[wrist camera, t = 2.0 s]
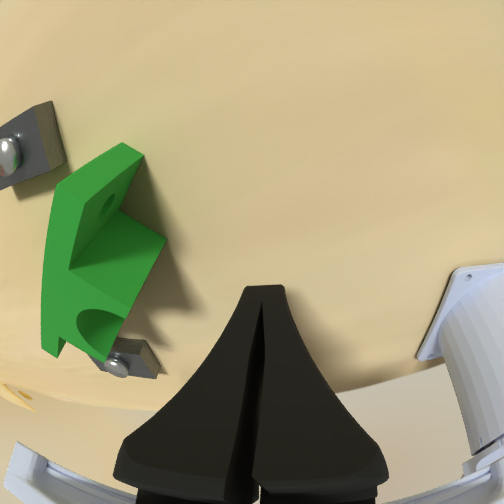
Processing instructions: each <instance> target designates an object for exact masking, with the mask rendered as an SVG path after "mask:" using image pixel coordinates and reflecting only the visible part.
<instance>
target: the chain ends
mask: <svg viewBox="0 0 504 504" xmlns="http://www.w3.org/2000/svg"><path fill="white" fill-rule="evenodd" d="M64 162H66V157H65V154H64V150H63V147H62V143H61V139H60V136H59V132H58V128H57V123H56V119H55V115H54V110H53V105H52V101H48V102H45V103H42V104H39V105H36V106H33V107H32V108H30V109H28V110H26V111H25V112H23V113H21V114H20V115H18V116H17V117H15V118H13V119H12V120H10V121H9V122H7V123H6V124H4V125H3V126H1V127H0V190H2V189H5V188H7V187H9V186H12V185H14V184H17V183H19V182H22V181H24V180H27V179H29V178H32V177H35V176H37V175H40V174H43V173H46V172H49V171H51V170H53V169H54V168H56V167H58V166H59V165H61V164H62V163H64ZM88 356H89V357H90V358H91V359H92V361H93V362H94V363H95V364H96V365H97V367H98V368H99V369H100V370H101V371H105V372H109V373H111V374H113V375H115V376H117V377H121V378H125V377H127V375H129V376H136V377H143V378H151V379H156V378H157V375H158V372H159V369H160V364H159V363H158V361H157V359H156V358H155V356H154V354H153V353H152V351H151V350H150V348H149V346H148V345H147V343H146V341H145V340H134V339H123V338H115V341H114V343H113V345H112V347H111V349H110V352H109V354H108V356H107V359H106V361H105V363H103V362H101V361H99V360H98V359H96V358H94V357H92V356H90V355H89V354H88Z"/></svg>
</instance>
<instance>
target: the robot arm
mask: <svg viewBox="0 0 504 504" xmlns="http://www.w3.org/2000/svg"><path fill="white" fill-rule="evenodd" d="M439 357H443V358H444V360H445V363H446V366H447V369H448V372H449V375H450V377H451V380H452V383H453V387H454V390H455V392H456V396H457V399H458V402H459V406H460V410H461V413H462V417H463V421H464V424H465V428H466V432H467V437H468V441H469V445H470V450H471V455H472V456H474V455H476V456H474V457H473V458H472V459H470V460H468V461H466V462H464V463H463V464H462V465H463V471H464V474H463V475H462V477H461V478H460V479H458V480H456V481H453V482H451V483H448V484H446V485H443V486H440V487H438V488H435V489H432V490H429V491H426V492H423V493H420V494H417V495H413V496H410V497H407V498H403V499H399V500H396V501H392V502H387V503H384V504H504V263H496V264H487V265H478V266H469V267H461V268H458V269H456V270H455V271H454V272H453V274H452V276H451V279H450V282H449V284H448V287H447V289H446V292H445V295H444V297H443V300H442V302H441V304H440V307H439V309H438V312H437V314H436V316H435V318H434V321H433V323H432V325H431V327H430V329H429V331H428V334H427V336H426V338H425V340H424V342H423V344H422V346H421V348H420V350H419V352H418V354H417V359H418V361H425V360H430V359H435V358H439ZM113 477H114V478H115V479H116V480H119V481H121V482H123V483H126V484H128V485H131V486H133V487H136V488H138V493H137V496H136V495H133V494H130V493H127V492H124V491H121V490H118V489H115V488H112V487H109V486H106V485H104V484H101V483H98V482H96V481H93V480H91V479H88V478H86V477H84V476H81V475H79V474H76V473H74V472H72V471H70V470H68V469H66V468H64V467H62V466H60V465H58V464H56V463H54V462H52V461H50V460H48V459H47V458H45V457H44V456H42V455H40V454H38V453H37V452H35V451H33V450H31V449H30V448H28V447H26V446H24V445H23V444H22V443H20V442H16V445H15V447H14V450H13V453H12V456H11V459H10V463H9V466H8V469H7V473H6V476H5V480H4V484H3V485H4V487H5V488H6V489H8V490H9V491H10V492H11V493H13V494H14V495H15V496H16V497H18V498H19V499H20V500H21V501H22V502H24V503H25V504H253V503H254V502H255V501H257V500H258V499H259V485H260V486H261V494H260V504H375V497H377V486H378V485H380V484H382V483H384V482H385V481H387V480H388V478H389V472H388V468H387V465H386V461H385V459H384V456H383V454H382V452H381V449H380V448H379V446H378V444H377V443H376V442H375V441H374V440H373V439H372V438H371V437H370V436H369V435H368V434H367V433H366V432H365V430H364V429H363V428H362V427H361V426H360V425H359V424H358V423H357V422H356V420H355V419H354V418H353V417H352V416H351V414H350V413H349V412H348V411H347V410H346V408H345V407H344V405H343V404H342V403H341V402H340V400H339V399H338V398H337V396H336V395H335V393H334V392H333V391H332V389H331V388H330V387H329V385H328V384H327V382H326V380H325V379H324V377H323V376H322V374H321V373H320V371H319V369H318V368H317V366H316V365H315V363H314V361H313V359H312V358H311V356H310V354H309V352H308V350H307V348H306V346H305V344H304V342H303V340H302V338H301V336H300V334H299V332H298V329H297V327H296V325H295V322H294V320H293V317H292V315H291V312H290V309H289V306H288V303H287V299H286V295H285V288H284V286H283V285H261V286H246V287H245V288H244V290H243V293H242V295H241V298H240V300H239V302H238V304H237V307H236V309H235V311H234V313H233V315H232V317H231V318H230V320H229V322H228V324H227V326H226V327H225V329H224V331H223V333H222V334H221V336H220V338H219V339H218V341H217V342H216V344H215V345H214V347H213V349H212V350H211V352H210V353H209V355H208V356H207V357H206V359H205V360H204V362H203V363H202V364H201V366H200V367H199V368H198V369H197V371H196V372H195V373H194V375H193V376H192V377H191V378H190V379H189V380H188V382H187V383H186V384H185V385H184V386H183V387H182V388H181V390H180V391H179V392H178V393H177V394H176V395H175V396H174V397H173V398H172V399H171V400H170V401H169V402H168V403H167V404H166V405H165V406H163V407H162V408H161V409H160V410H159V411H158V412H157V413H156V414H155V415H154V416H153V417H152V418H150V419H149V420H148V421H147V422H145V423H144V424H143V425H142V426H140V427H139V428H138V429H136V430H135V431H134V432H133V433H131V434H130V435H129V436H127V437H126V438H125V439H124V440H123V443H122V445H121V448H120V450H119V453H118V456H117V460H116V464H115V468H114V472H113Z"/></svg>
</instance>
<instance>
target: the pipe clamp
mask: <svg viewBox="0 0 504 504" xmlns="http://www.w3.org/2000/svg"><path fill="white" fill-rule="evenodd" d="M143 156H144V155H143V154H141V153H140V152H138V151H136V150H135V149H133V148H131V147H129V146H128V145H126V144H124V143H123V142H122V143H120V144H118V145H117V146H115V147H113V148H111V149H110V150H108V151H106V152H105V153H103V154H101V155H100V156H98V157H97V158H95V159H93V160H92V161H90V162H89V163H87V164H86V165H84V166H83V167H81V168H80V169H78V170H77V171H75V172H74V173H72V174H71V175H69V176H68V177H66V178H65V179H63V180H62V181H61V182H59V183H58V184H56V188H55V193H54V198H53V203H52V208H51V213H50V219H49V225H48V231H47V238H46V245H45V254H44V263H43V275H42V292H41V346H42V349H44V350H45V351H47V352H48V353H50V354H51V355H53V356H54V357H56V358H58V356H59V354H60V352H61V350H62V349H63V347H64V345H65V343H66V341H67V342H69V343H70V344H72V345H74V346H75V347H77V348H78V349H80V350H82V351H84V352H85V353H87V354H89V355H90V356H92V357H94V358H96V359H98V360H99V361H101V362H103V363H105V361H106V359H107V356H108V354H109V352H110V349H111V347H112V345H113V343H114V341H115V338H116V336H117V334H118V332H119V330H120V328H121V325H122V323H123V321H124V319H126V317H127V315H128V313H129V312H130V310H131V308H132V306H133V303H134V301H135V299H136V297H137V295H138V293H139V291H140V289H141V287H142V285H143V284H144V282H145V280H146V278H147V276H148V274H149V272H150V270H151V268H152V266H153V264H154V262H155V261H156V259H157V257H158V255H159V253H160V251H161V250H162V248H163V246H164V244H165V242H166V240H167V239H166V238H164V237H163V236H161V235H159V234H158V233H156V232H154V231H153V230H151V229H149V228H148V227H146V226H144V225H143V224H141V223H139V222H138V221H136V220H135V219H133V218H131V217H130V216H128V215H126V214H125V213H123V212H121V211H120V210H119V209H120V207H121V205H122V202H123V200H124V198H125V195H126V193H127V191H128V188H129V186H130V184H131V182H132V179H133V177H134V175H135V173H136V171H137V169H138V167H139V165H140V162H141V160H142V158H143Z"/></svg>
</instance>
